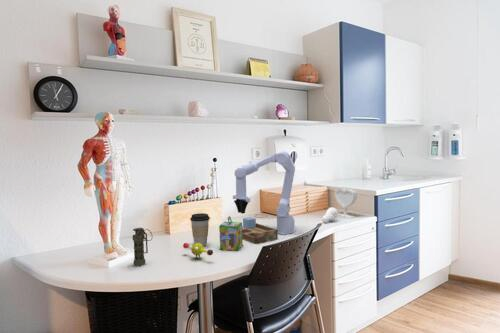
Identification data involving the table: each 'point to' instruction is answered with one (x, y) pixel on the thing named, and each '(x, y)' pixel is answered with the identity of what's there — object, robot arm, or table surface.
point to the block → (249, 223)
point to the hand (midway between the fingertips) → (241, 212)
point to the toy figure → (197, 249)
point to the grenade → (139, 246)
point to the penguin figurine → (330, 215)
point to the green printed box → (230, 235)
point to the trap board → (259, 234)
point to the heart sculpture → (345, 199)
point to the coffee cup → (200, 228)
